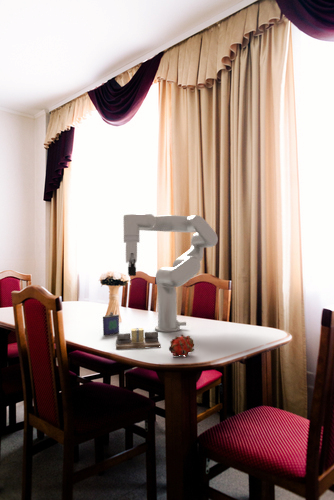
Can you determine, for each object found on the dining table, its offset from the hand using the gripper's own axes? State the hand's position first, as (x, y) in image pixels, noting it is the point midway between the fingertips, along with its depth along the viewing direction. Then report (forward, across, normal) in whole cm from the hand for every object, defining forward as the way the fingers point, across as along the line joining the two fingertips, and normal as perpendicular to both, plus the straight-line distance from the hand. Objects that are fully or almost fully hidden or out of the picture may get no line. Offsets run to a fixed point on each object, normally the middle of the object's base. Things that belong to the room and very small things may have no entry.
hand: (131, 275), depth 180 cm
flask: (+29, -3, -10) cm, 30 cm away
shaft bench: (+28, +20, +1) cm, 35 cm away
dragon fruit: (+29, +42, +16) cm, 53 cm away
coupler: (+27, +20, +1) cm, 34 cm away
